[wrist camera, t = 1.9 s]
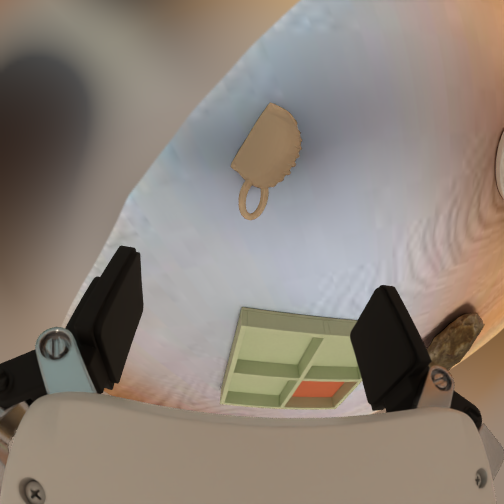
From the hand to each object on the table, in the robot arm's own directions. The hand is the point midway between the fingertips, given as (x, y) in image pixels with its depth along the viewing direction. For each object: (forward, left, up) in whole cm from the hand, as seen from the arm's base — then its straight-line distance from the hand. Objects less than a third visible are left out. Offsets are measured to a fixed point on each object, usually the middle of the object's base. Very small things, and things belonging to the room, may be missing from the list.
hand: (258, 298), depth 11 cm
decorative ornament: (0, -2, -17) cm, 17 cm away
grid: (-12, +27, -17) cm, 34 cm away
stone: (-37, +18, -17) cm, 45 cm away
